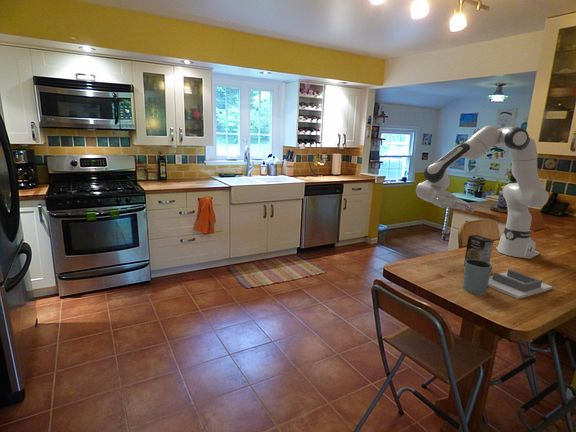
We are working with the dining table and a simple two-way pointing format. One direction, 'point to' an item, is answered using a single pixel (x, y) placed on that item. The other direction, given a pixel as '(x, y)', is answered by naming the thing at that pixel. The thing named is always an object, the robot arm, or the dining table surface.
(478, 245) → the coffee box
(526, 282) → the white base plate
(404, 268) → the dining table surface
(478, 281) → the ceramic plant pot
